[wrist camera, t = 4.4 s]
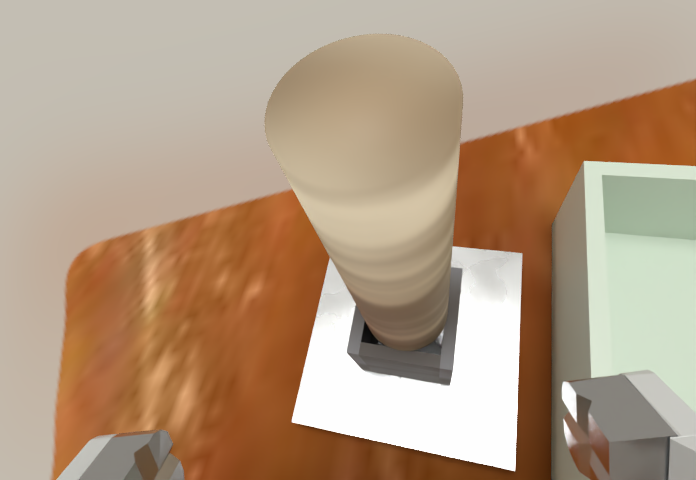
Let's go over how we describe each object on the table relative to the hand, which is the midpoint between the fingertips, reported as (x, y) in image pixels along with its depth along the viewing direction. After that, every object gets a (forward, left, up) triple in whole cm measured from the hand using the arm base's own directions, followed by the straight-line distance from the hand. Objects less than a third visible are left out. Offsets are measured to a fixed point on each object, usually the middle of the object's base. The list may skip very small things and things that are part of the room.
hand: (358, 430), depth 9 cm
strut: (+6, +1, -16) cm, 17 cm away
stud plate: (+6, +1, -17) cm, 18 cm away
